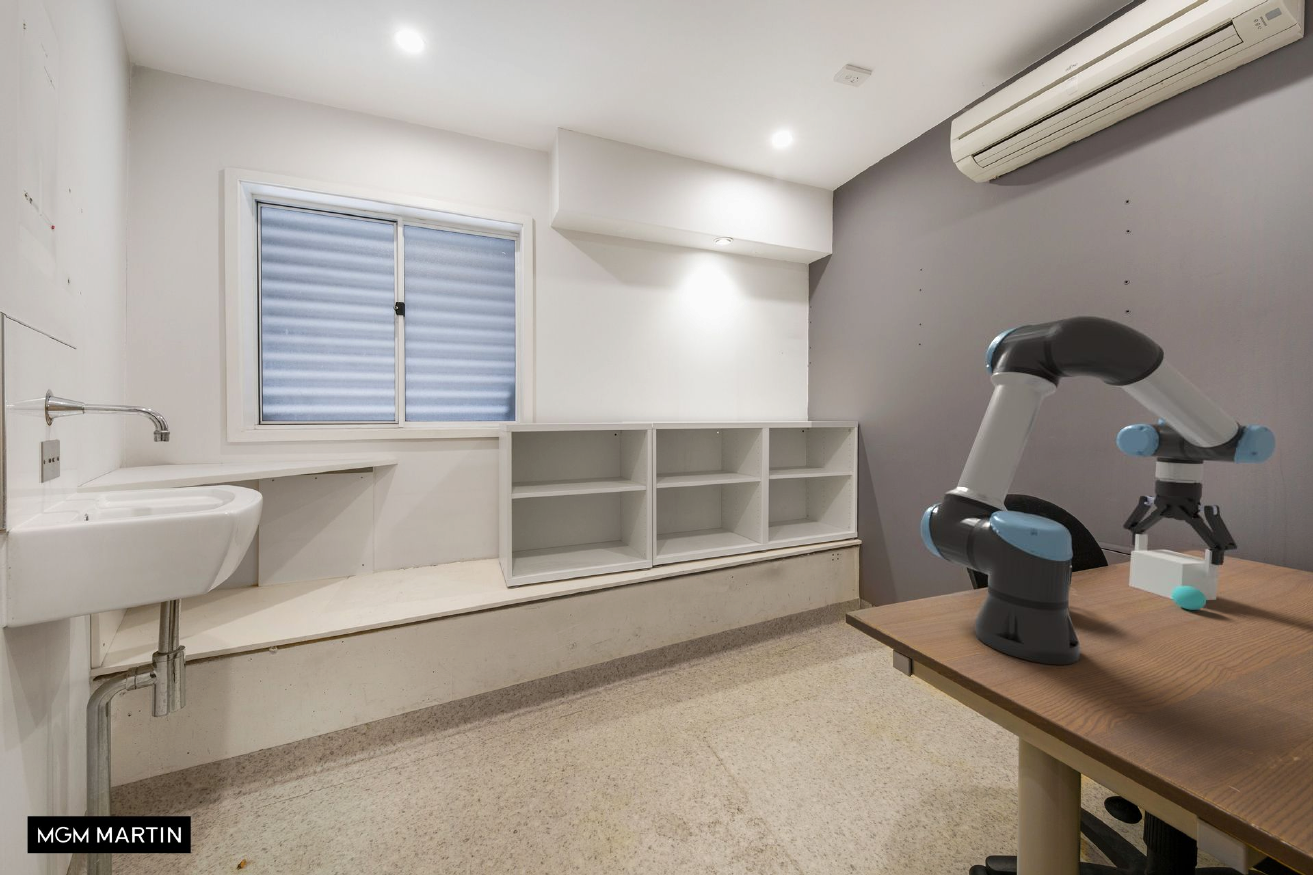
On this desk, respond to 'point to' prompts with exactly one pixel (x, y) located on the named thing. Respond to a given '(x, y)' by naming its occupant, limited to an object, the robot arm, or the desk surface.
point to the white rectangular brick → (1169, 573)
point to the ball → (1188, 597)
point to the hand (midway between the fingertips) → (1173, 568)
